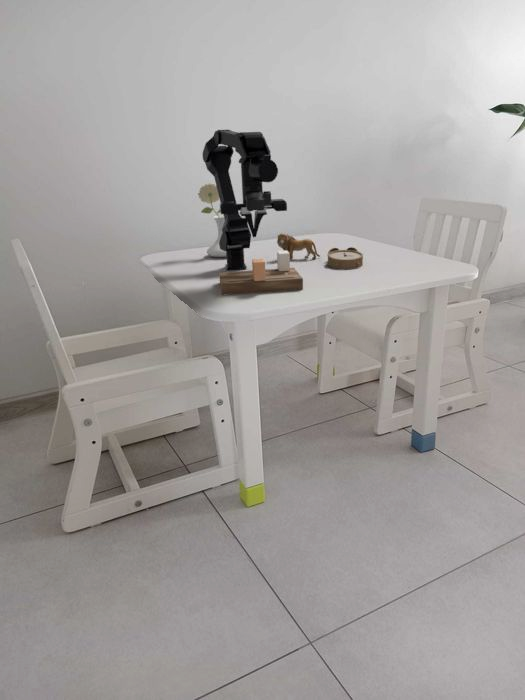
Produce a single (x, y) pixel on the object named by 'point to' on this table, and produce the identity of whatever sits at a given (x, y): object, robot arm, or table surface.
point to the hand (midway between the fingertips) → (254, 237)
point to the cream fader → (283, 260)
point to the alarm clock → (345, 258)
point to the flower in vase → (210, 196)
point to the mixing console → (274, 281)
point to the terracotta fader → (258, 269)
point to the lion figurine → (296, 245)
